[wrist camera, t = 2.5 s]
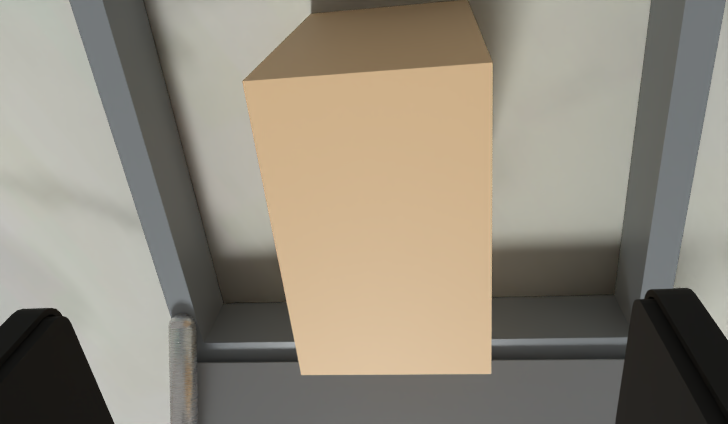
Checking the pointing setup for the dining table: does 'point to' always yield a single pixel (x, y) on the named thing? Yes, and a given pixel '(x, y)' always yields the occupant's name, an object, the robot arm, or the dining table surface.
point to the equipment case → (509, 314)
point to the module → (381, 187)
